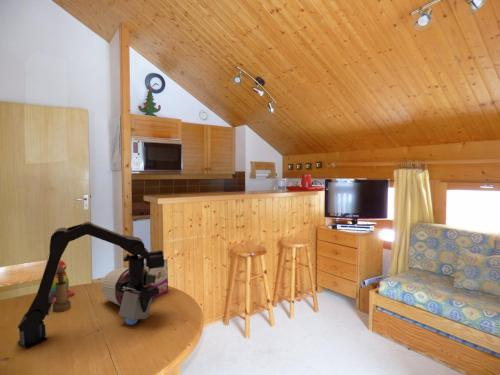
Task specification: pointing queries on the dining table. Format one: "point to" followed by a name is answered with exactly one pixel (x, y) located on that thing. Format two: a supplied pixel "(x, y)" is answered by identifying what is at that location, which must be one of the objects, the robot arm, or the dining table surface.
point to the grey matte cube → (133, 306)
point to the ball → (130, 321)
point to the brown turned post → (61, 293)
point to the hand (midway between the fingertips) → (137, 309)
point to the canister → (110, 282)
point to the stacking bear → (53, 289)
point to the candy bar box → (160, 277)
